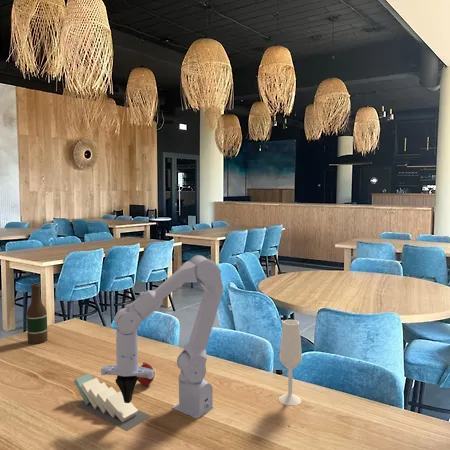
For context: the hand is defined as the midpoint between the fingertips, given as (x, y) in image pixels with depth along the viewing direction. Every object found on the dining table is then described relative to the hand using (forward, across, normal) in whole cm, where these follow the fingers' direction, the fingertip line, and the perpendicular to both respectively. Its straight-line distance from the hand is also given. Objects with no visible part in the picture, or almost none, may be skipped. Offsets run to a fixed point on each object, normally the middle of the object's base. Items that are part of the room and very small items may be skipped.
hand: (128, 401), depth 118 cm
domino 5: (+4, -1, 0) cm, 4 cm away
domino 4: (+4, +3, -1) cm, 5 cm away
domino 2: (+4, +10, -5) cm, 12 cm away
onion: (+5, +2, -20) cm, 21 cm away
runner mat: (+5, +6, -3) cm, 8 cm away
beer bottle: (+5, +61, -51) cm, 80 cm away
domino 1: (+4, +13, -6) cm, 15 cm away
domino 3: (+4, +6, -3) cm, 8 cm away
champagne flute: (+5, -44, -18) cm, 48 cm away
